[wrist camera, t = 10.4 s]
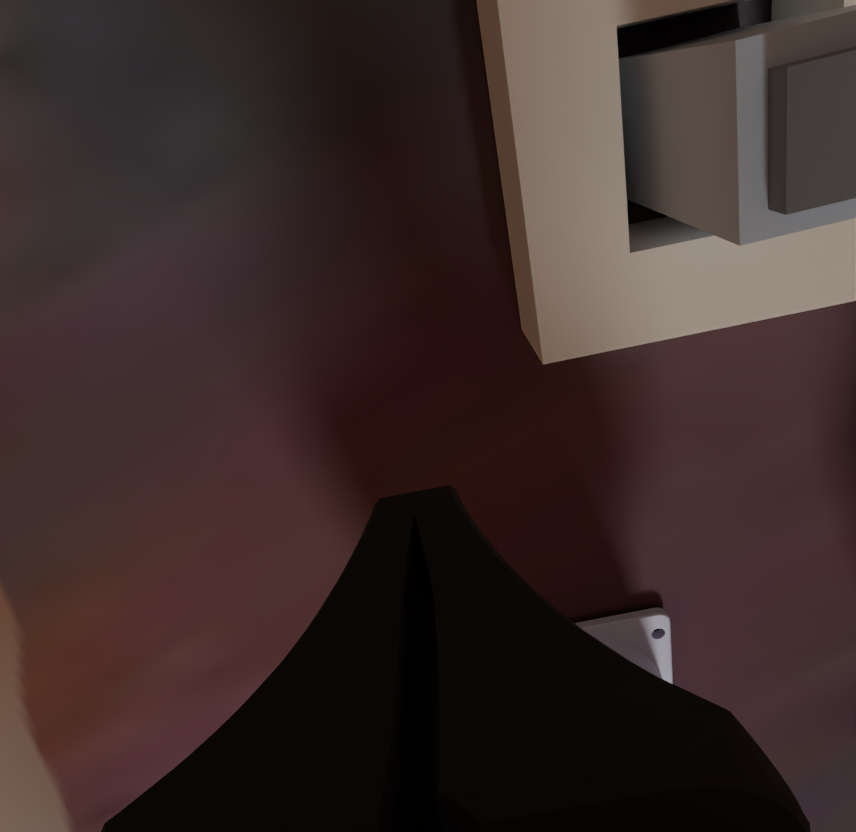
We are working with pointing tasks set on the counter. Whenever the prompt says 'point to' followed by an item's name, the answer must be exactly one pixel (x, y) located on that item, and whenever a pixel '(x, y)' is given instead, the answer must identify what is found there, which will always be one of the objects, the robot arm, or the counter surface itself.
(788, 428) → the counter surface
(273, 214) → the counter surface
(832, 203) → the plug
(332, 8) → the counter surface
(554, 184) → the port
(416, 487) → the counter surface
